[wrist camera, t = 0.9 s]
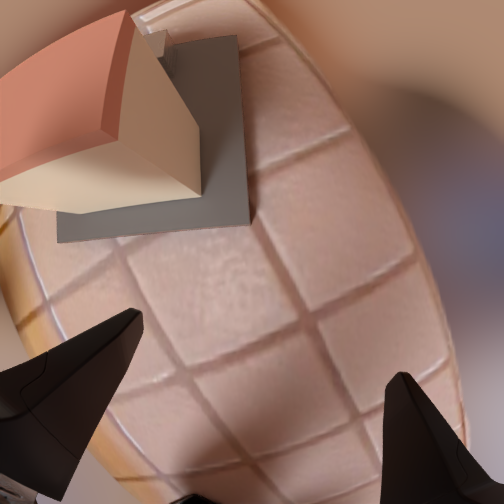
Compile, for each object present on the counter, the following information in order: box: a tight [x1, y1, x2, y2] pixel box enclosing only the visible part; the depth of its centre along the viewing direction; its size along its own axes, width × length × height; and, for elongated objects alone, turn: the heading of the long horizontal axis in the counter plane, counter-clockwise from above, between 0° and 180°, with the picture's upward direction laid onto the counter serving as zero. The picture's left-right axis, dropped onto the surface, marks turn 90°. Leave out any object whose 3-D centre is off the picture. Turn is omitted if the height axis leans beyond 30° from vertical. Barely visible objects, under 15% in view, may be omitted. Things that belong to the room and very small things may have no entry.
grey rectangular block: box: [143, 30, 177, 78], centre depth 16 cm, size 3×6×3 cm, turn 94°
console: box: [57, 35, 251, 243], centre depth 19 cm, size 16×16×2 cm
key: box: [0, 10, 202, 214], centre depth 12 cm, size 5×10×12 cm, turn 94°
